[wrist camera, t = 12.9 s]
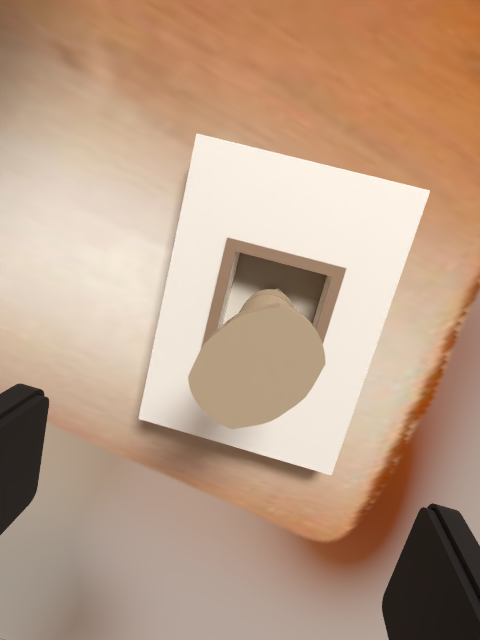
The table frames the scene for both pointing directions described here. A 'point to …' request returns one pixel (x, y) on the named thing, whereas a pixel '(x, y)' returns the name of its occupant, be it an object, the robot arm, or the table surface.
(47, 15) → the table surface
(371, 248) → the socket board
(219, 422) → the handle
